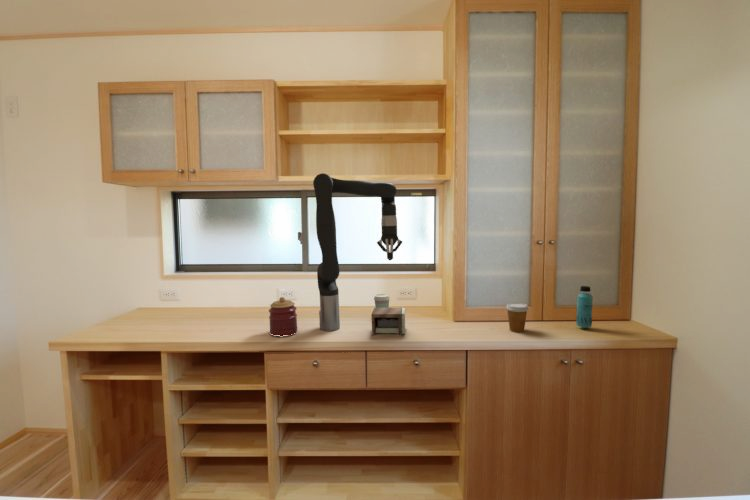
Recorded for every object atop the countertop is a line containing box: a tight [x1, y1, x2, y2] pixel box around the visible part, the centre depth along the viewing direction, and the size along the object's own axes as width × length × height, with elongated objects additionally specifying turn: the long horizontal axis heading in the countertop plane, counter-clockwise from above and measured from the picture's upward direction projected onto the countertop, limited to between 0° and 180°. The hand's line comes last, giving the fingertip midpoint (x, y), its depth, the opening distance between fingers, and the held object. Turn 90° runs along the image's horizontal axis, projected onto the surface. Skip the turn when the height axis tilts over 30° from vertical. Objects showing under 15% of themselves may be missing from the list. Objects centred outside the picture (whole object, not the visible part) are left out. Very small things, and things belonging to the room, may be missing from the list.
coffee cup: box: [373, 293, 391, 308], centre depth 203 cm, size 8×8×12 cm
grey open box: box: [378, 317, 399, 328], centre depth 179 cm, size 10×6×4 cm, turn 84°
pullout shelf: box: [375, 307, 406, 335], centre depth 178 cm, size 14×10×9 cm
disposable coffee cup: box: [506, 302, 529, 333], centre depth 175 cm, size 10×10×12 cm
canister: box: [268, 296, 298, 336], centre depth 180 cm, size 13×13×18 cm
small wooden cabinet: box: [371, 307, 403, 337], centre depth 179 cm, size 14×12×10 cm
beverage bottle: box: [575, 285, 594, 328], centre depth 174 cm, size 6×7×20 cm
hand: (390, 259), depth 186 cm, fingers closed
